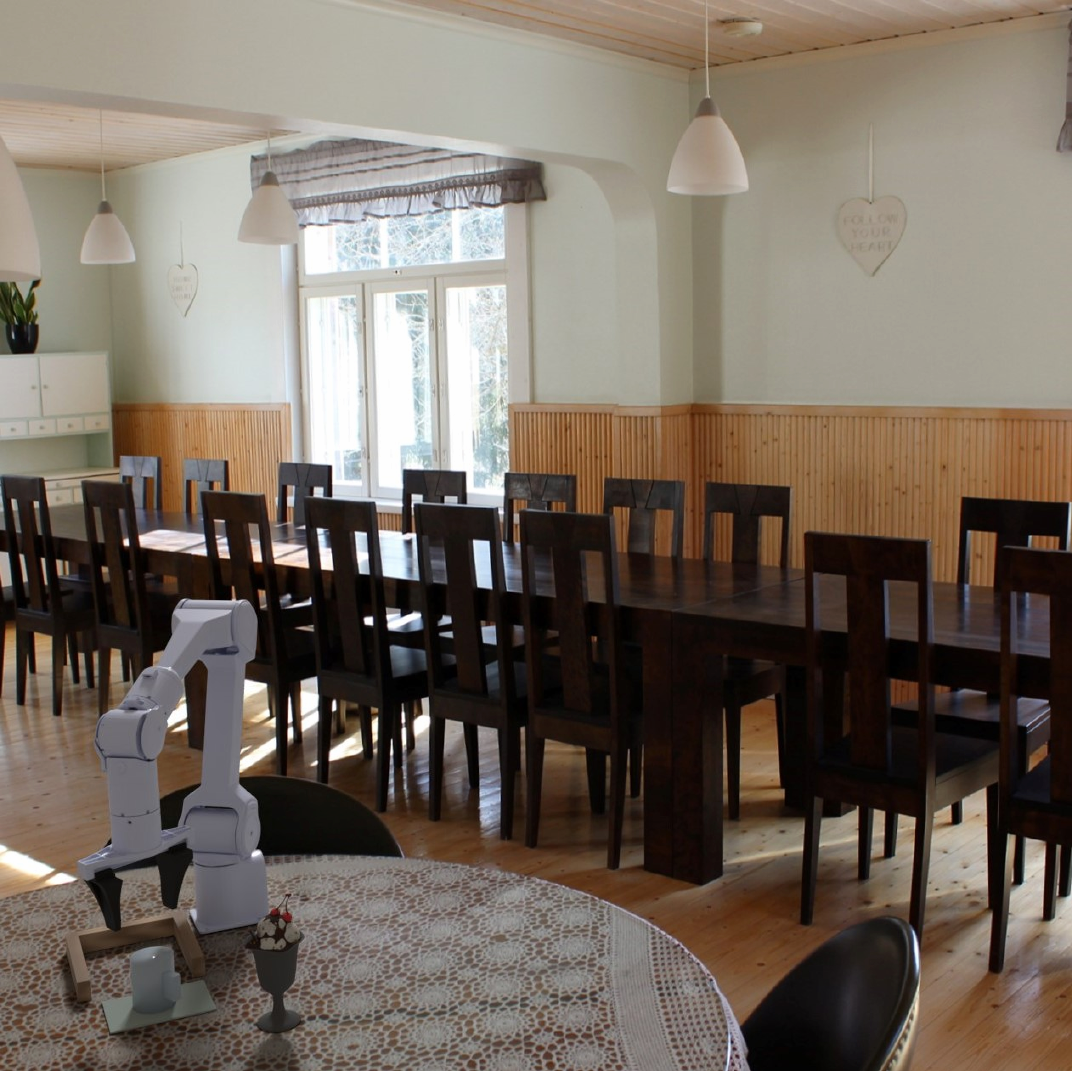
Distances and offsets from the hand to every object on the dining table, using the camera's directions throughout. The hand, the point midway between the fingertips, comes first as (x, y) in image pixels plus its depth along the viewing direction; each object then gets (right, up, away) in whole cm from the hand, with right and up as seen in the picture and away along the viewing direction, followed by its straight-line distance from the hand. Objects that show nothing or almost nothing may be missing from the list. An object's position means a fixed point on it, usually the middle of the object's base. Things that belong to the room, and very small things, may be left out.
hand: (142, 917), depth 156 cm
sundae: (+18, -11, -6) cm, 21 cm away
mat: (+2, -10, -2) cm, 11 cm away
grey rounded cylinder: (+2, -10, -1) cm, 10 cm away
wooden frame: (-4, -9, +10) cm, 13 cm away
